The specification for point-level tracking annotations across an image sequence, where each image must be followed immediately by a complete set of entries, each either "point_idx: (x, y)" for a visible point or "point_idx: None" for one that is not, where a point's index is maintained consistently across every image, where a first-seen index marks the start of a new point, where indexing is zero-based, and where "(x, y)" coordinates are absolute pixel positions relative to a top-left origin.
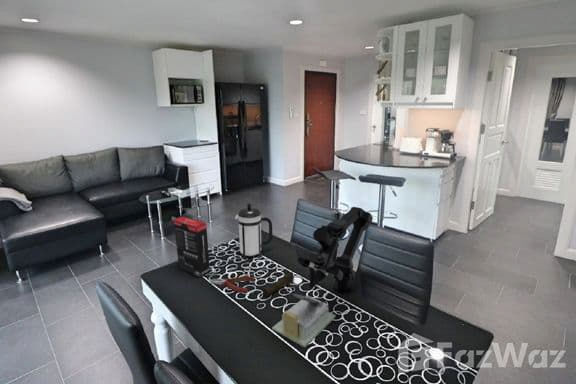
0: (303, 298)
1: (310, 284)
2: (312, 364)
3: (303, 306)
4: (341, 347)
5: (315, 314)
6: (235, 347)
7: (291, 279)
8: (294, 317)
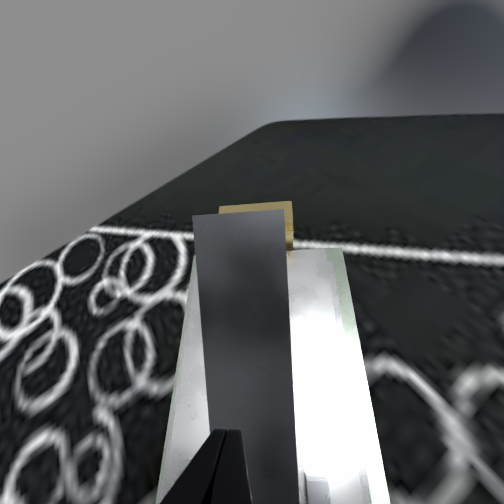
0: (196, 236)
1: (226, 462)
2: (151, 229)
3: None
4: (88, 336)
5: (188, 359)
6: (353, 150)
7: None
8: (225, 209)
